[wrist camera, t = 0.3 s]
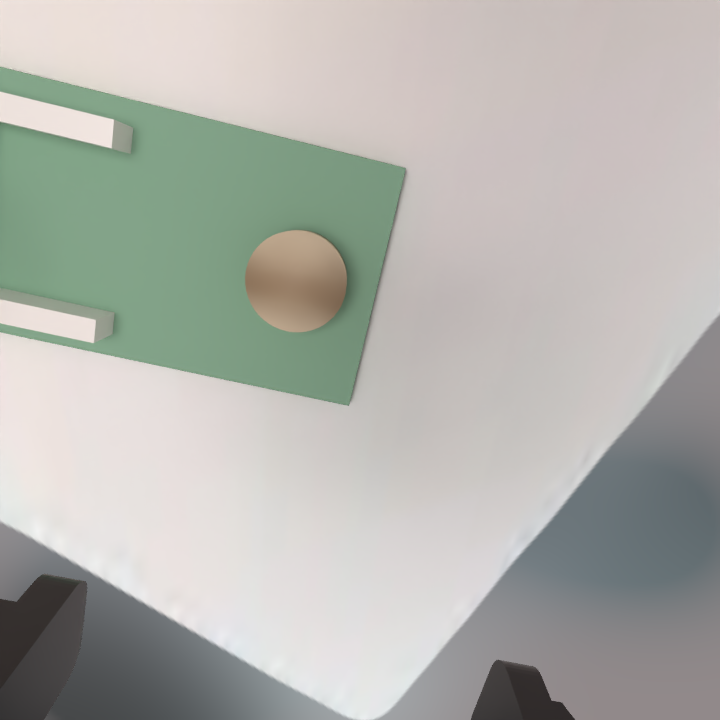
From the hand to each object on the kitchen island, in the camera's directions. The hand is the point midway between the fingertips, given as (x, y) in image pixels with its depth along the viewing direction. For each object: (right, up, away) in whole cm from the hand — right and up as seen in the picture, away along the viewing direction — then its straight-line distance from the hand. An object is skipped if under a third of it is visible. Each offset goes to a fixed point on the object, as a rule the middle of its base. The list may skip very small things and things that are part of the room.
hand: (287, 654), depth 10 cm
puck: (-2, +11, +23) cm, 25 cm away
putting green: (-10, +13, +23) cm, 28 cm away
